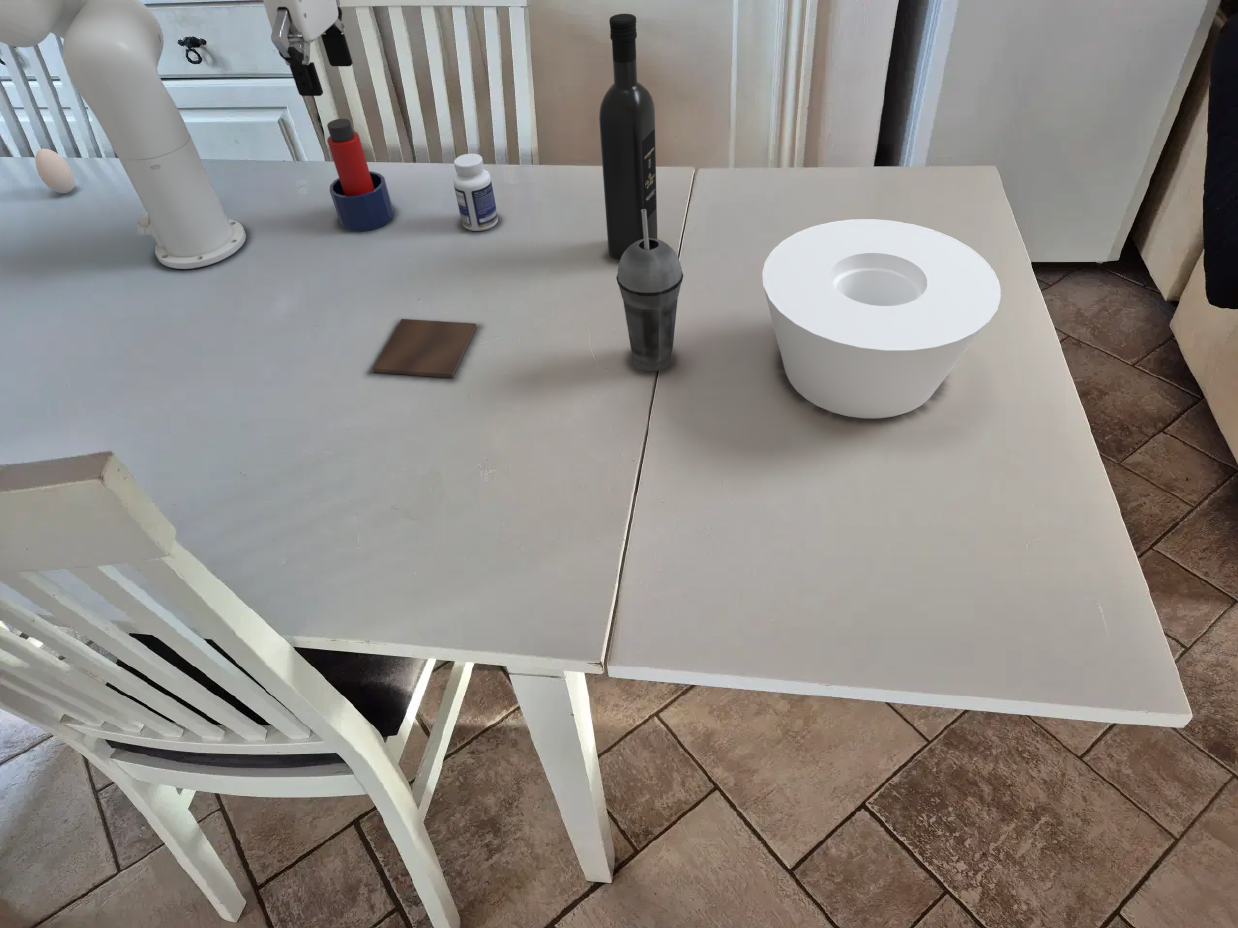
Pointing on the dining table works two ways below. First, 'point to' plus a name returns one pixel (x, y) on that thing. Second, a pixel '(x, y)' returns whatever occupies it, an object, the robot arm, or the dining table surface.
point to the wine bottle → (627, 145)
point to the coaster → (425, 348)
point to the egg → (54, 171)
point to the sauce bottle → (349, 158)
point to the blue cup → (363, 206)
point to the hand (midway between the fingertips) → (327, 80)
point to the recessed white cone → (875, 312)
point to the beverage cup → (650, 299)
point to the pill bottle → (474, 193)
